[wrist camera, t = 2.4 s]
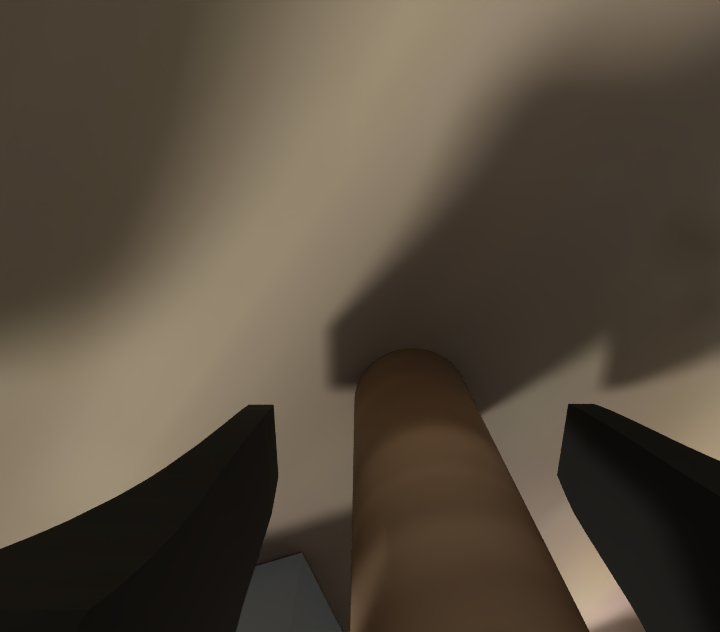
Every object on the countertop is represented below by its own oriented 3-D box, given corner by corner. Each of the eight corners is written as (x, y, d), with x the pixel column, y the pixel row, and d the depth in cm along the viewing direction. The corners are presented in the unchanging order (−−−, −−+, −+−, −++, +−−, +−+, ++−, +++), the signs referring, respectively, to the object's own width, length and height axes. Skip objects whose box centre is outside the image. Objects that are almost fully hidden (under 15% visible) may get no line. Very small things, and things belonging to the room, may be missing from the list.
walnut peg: (338, 370, 13) (306, 672, 5) (447, 333, 12) (593, 596, 5) (376, 461, 14) (398, 835, 6) (478, 429, 13) (643, 781, 6)
